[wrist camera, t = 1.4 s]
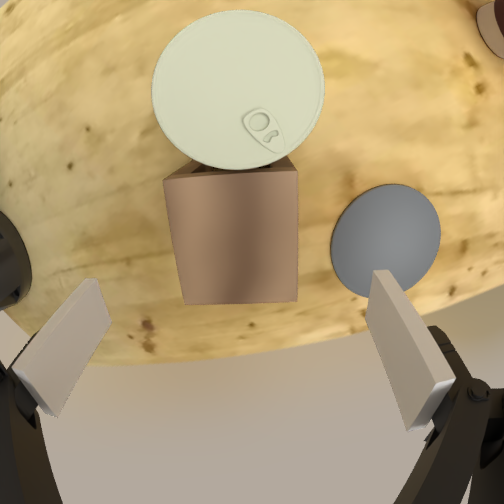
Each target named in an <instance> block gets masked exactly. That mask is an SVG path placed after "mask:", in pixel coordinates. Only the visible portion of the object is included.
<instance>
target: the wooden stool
mask: <svg viewBox="0 0 504 504" xmlns="http://www.w3.org/2000/svg"><path fill="white" fill-rule="evenodd" d="M269 167H270V168H259V169H243V170H225V171H213V167H212V166H208V165H205V164H203V163H200V162H198V161H196V160H192V161H191V162H189V163H188V164H186V165H185V166H183V167H182V168H180V169H179V170H177V171H176V172H174V173H173V174H171V175H170V176H168V177H167V178H165V179H164V180H163V186H164V193H165V200H166V206H167V213H168V219H169V225H170V231H171V237H172V243H173V248H174V254H175V259H176V264H177V269H178V274H179V279H180V284H181V289H182V294H183V299H184V303H185V305H206V304H252V303H279V302H297V290H298V174H297V170H296V168H295V167H294V165H293V164H292V162H291V161H290V160H289V158H288V157H287V155H286V156H284V157H283V158H281V159H279V160H277V161H275V162H272V163H270V164H269Z"/></svg>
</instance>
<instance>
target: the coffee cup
mask: <svg viewBox="0 0 504 504" xmlns="http://www.w3.org/2000/svg"><path fill="white" fill-rule="evenodd" d="M477 24H478V27H479V30H480V33H481V35H482V37H483V39H484V41H485V42H486V44H487V45H488V46H489V48H490V49H491V50H492V51H493V52H494V53H495V54H496V55H498V56H499V57H501V58H503V59H504V0H495V1H493V2H490V3H488V4H486V5H484V6H482V7H480V8H479V10H478V12H477Z"/></svg>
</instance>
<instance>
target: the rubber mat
mask: <svg viewBox="0 0 504 504" xmlns="http://www.w3.org/2000/svg"><path fill="white" fill-rule="evenodd" d="M440 236H441V230H440V222H439V218H438V215H437V212H436V210H435V208H434V207H433V205H432V204H431V202H430V201H429V200H428V199H427V198H426V197H425V196H424V195H423V194H421V193H420V192H418V191H417V190H415V189H413V188H411V187H408V186H404V185H399V184H386V185H381V186H378V187H375V188H372V189H370V190H368V191H366V192H364V193H363V194H361V195H360V196H358V197H357V198H356V199H355V200H353V201H352V202H351V203H350V204H349V206H348V207H347V208H346V209H345V210H344V212H343V213H342V215H341V216H340V218H339V220H338V222H337V224H336V226H335V229H334V232H333V236H332V241H331V258H332V263H333V266H334V269H335V271H336V273H337V275H338V277H339V279H340V280H341V282H342V283H343V284H344V285H345V286H346V287H347V288H348V289H349V290H351V291H352V292H354V293H356V294H358V295H360V296H363V297H367V298H369V295H370V289H371V282H372V276H373V270H389V271H390V272H391V274H392V275H393V277H394V278H395V280H396V281H397V282H398V284H399V285H400V287H401V288H402V290H403V291H406V290H408V289H409V288H411V287H412V286H414V285H415V284H416V283H417V282H418V281H419V280H420V279H421V278H422V277H423V276H424V275H425V274H426V273H427V271H428V270H429V268H430V267H431V265H432V264H433V262H434V260H435V257H436V255H437V252H438V248H439V244H440Z"/></svg>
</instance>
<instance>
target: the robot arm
mask: <svg viewBox="0 0 504 504" xmlns="http://www.w3.org/2000/svg"><path fill="white" fill-rule="evenodd" d="M30 285H31V268H30V263H29V259H28V255H27V252H26V249H25V247H24V244H23V242H22V240H21V238H20V236H19V234H18V232H17V231H16V229H15V227H14V226H13V225H12V223H11V222H10V221H9V220H8V218H7V217H6V216H5V215H4V214H2V213H1V212H0V311H1V310H4V309H6V308H8V307H11V306H13V305H15V304H17V303H18V302H19V301H20V300H21V299H22V298H23V297H24V296H25V295H26V294H27V293H28V291H29V289H30ZM365 320H366V323H367V325H368V328H369V330H370V332H371V335H372V337H373V340H374V342H375V345H376V347H377V350H378V352H379V355H380V357H381V360H382V363H383V365H384V367H385V370H386V373H387V376H388V378H389V381H390V384H391V387H392V389H393V392H394V395H395V398H396V401H397V403H398V406H399V409H400V412H401V415H402V418H403V421H404V424H405V427H406V431H407V432H409V431H413V430H417V429H421V428H424V427H426V426H427V424H428V423H429V421H430V420H431V418H432V420H433V423H434V428H433V429H432V431H431V432H430V433H429V435H428V436H427V437H426V439H425V440H424V441H427V442H426V444H425V447H424V449H423V451H422V453H421V455H420V457H419V459H418V461H417V463H416V465H415V467H414V469H413V471H412V473H411V474H410V476H409V478H408V480H407V482H406V484H405V485H404V487H403V489H402V490H401V492H400V494H399V495H398V497H397V499H396V501H395V502H394V504H460V503H461V501H462V499H463V496H464V494H465V491H466V489H467V486H468V484H469V481H470V479H471V476H472V481H471V488H470V494H469V499H468V504H504V388H502V389H490V387H489V386H488V384H486V382H484V381H482V380H480V379H475V378H472V377H471V374H470V373H469V371H468V369H467V368H466V366H465V364H464V363H463V361H462V359H461V358H460V356H459V354H458V353H457V351H455V348H454V346H453V345H452V344H451V342H450V340H449V338H448V337H447V335H446V334H445V333H444V332H443V331H442V330H441V329H439V328H438V327H437V326H429V327H426V325H425V324H424V322H423V320H422V319H421V317H420V316H419V314H418V312H417V311H416V309H415V308H414V306H413V305H412V303H411V302H410V300H409V299H408V297H407V296H406V294H405V293H404V291H403V290H402V288H401V287H400V285H399V284H398V282H397V281H396V280H395V278H394V277H393V275H392V274H391V272H390V271H389V270H373V276H372V282H371V289H370V295H369V300H368V306H367V311H366V317H365ZM111 324H112V320H111V318H110V315H109V313H108V310H107V307H106V304H105V301H104V299H103V296H102V293H101V290H100V287H99V284H98V281H97V278H85V279H84V280H83V281H82V282H81V283H80V284H79V286H78V287H77V288H76V289H75V290H74V291H73V292H72V293H71V294H70V296H69V297H68V298H67V299H66V300H65V301H64V302H63V303H62V305H61V306H60V307H59V308H58V309H57V310H56V312H55V313H54V314H53V315H52V316H51V317H50V319H49V320H48V321H47V322H46V323H45V325H44V326H43V327H42V328H41V329H40V330H39V331H38V332H36V333H35V334H34V335H33V336H32V337H31V339H30V340H29V341H28V344H26V345H25V346H24V347H23V350H21V351H20V353H19V354H18V355H17V357H16V358H15V359H14V361H13V362H12V363H11V365H10V366H9V367H8V369H7V370H6V368H5V367H4V365H3V364H2V362H1V361H0V504H63V503H62V500H61V497H60V494H59V491H58V489H57V485H56V482H55V479H54V477H53V473H52V469H51V466H50V462H49V458H48V455H47V450H46V446H45V442H44V438H43V433H42V428H41V423H40V417H39V414H38V412H37V410H36V407H37V406H38V405H39V406H40V407H41V409H42V410H43V411H44V412H45V413H46V414H49V415H51V416H54V417H58V416H59V414H60V412H61V410H62V408H63V406H64V404H65V403H66V401H67V399H68V397H69V395H70V393H71V391H72V390H73V388H74V386H75V384H76V382H77V381H78V379H79V377H80V375H81V373H82V372H83V370H84V368H85V367H86V365H87V363H88V361H89V360H90V358H91V356H92V355H93V353H94V351H95V350H96V348H97V346H98V345H99V343H100V341H101V340H102V338H103V336H104V335H105V333H106V332H107V330H108V328H109V327H110V325H111Z"/></svg>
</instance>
